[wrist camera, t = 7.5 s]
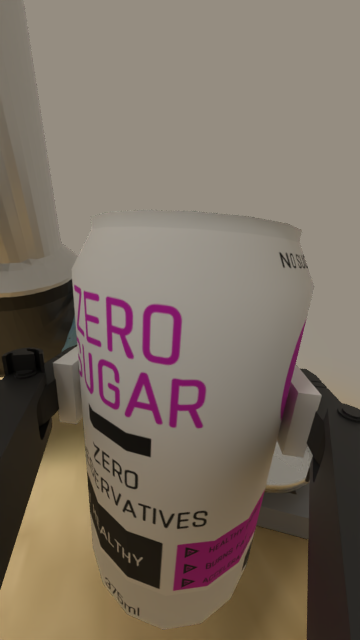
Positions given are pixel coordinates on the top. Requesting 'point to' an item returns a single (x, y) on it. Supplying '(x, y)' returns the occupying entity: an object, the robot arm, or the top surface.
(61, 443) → the top surface
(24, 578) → the top surface
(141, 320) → the supplement can
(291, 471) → the scale plate
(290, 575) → the top surface
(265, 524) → the scale frame
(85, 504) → the top surface
